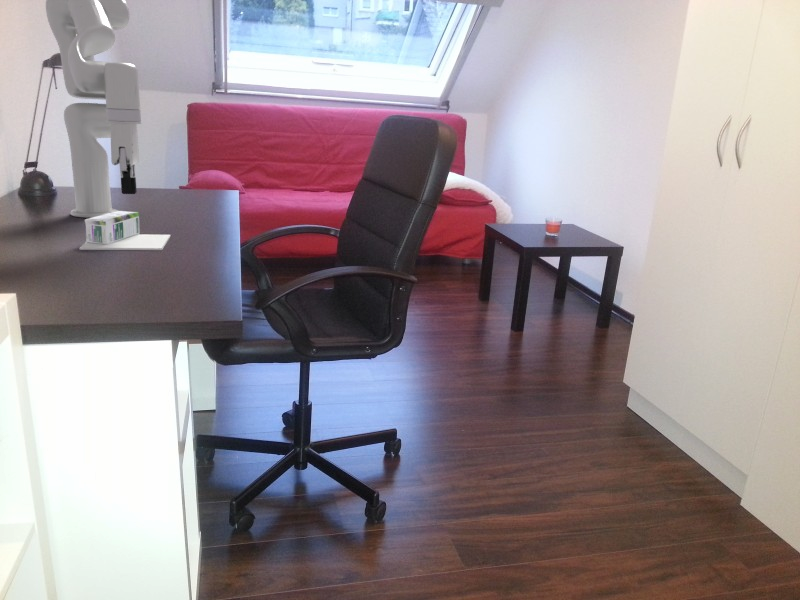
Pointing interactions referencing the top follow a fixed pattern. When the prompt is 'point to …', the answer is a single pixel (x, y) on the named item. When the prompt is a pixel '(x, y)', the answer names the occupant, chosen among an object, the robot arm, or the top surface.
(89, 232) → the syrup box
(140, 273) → the top surface
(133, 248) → the mat
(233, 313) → the top surface
